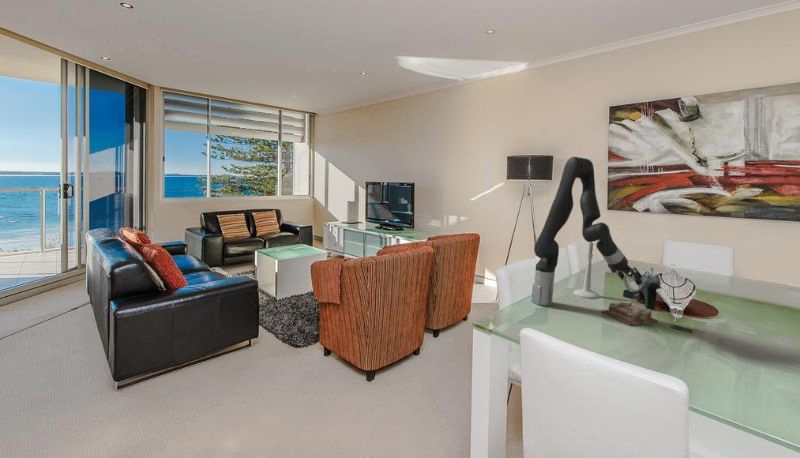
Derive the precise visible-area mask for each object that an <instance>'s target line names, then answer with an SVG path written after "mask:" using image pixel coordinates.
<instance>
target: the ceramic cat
mask: <svg viewBox="0 0 800 458" xmlns="http://www.w3.org/2000/svg"><path fill="white" fill-rule="evenodd" d="M650 270H651V274H650V272H649V271H645V273H643V274H641V275H642V277H641V278H642V280H643V285H642V288H641V289H640V290H638V291H639V298H637V300H638V299H639V300H638V301H640V300H645V301H644V303H645V304H644V307H646V308H645V309H651V311H656V305H657V290H659V289H661V278H660V277H659V274H655V275H653V272H654V268H653V267H651V268H650ZM647 273H648V274H647Z"/></svg>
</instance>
